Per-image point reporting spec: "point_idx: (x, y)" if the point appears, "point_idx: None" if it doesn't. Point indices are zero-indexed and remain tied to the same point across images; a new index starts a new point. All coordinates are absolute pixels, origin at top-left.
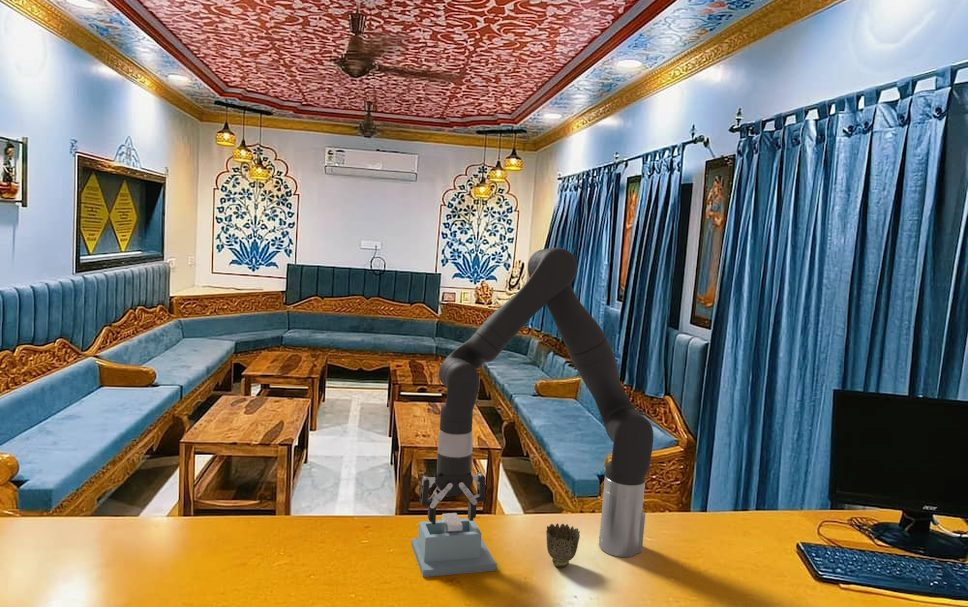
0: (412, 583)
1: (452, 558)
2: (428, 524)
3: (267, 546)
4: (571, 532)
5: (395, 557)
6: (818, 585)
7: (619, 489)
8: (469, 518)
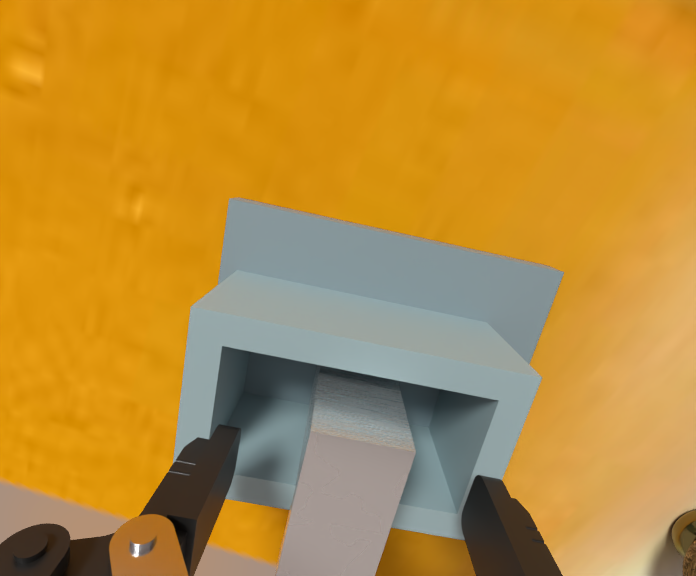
0: (159, 456)
1: None
2: (245, 346)
3: None
4: None
5: (141, 276)
6: None
7: None
8: (468, 515)
